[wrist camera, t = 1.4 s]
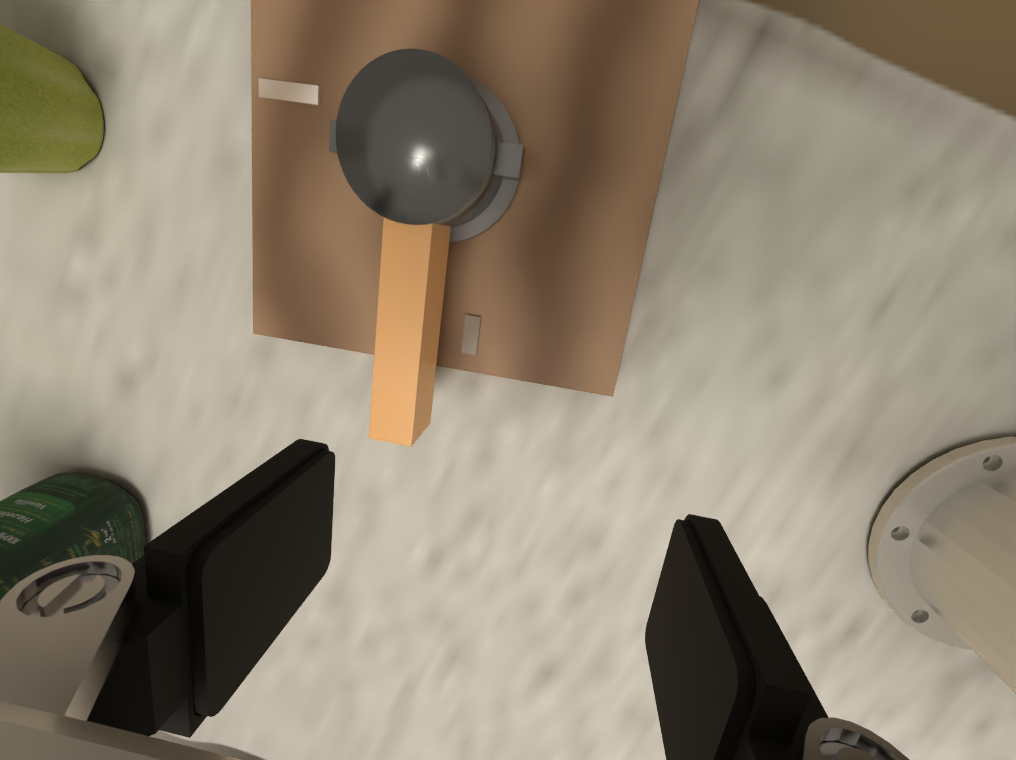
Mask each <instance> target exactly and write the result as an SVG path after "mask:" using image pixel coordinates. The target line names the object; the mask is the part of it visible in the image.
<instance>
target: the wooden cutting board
mask: <svg viewBox="0 0 1016 760" xmlns="http://www.w3.org/2000/svg"><path fill="white" fill-rule="evenodd" d="M698 3H699V0H251V64H252V215H253V333H254V334H259V335H265V336H271V337H276V338H282V339H288V340H293V341H299V342H305V343H311V344H316V345H322V346H328V347H333V348H339V349H345V350H350V351H356V352H362V353H368V354H373V355H375V340H376V325H377V310H378V295H379V280H380V265H381V250H382V235H383V221H384V217H383V216H381V215H379V214H377V213H376V212H374V211H373V210H372V209H370V208H369V207H368V206H367V205H366V204H364V203H363V202H362V201H361V200H360V198H359V197H358V196H357V195H356V194H355V193H354V191H353V190H352V188H351V187H350V185H349V183H348V181H347V179H346V178H345V176H344V173H343V171H342V168H341V165H340V162H339V158H338V155H337V154H334V153H332V152H329V137H330V120H336V119H337V114H338V110H339V106H340V103H341V100H342V97H343V95H344V93H345V91H346V89H347V87H348V86H349V84H350V83H351V81H352V80H353V78H354V77H355V76H356V75H357V73H358V72H359V71H360V70H361V69H362V68H363V67H364V66H366V65H367V64H368V63H369V62H371V61H372V60H374V59H375V58H377V57H379V56H381V55H383V54H385V53H388V52H391V51H395V50H400V49H408V48H409V49H422V50H427V51H431V52H434V53H436V54H439V55H441V56H443V57H445V58H447V59H449V60H450V61H452V62H453V63H454V64H456V65H457V66H458V67H460V68H461V69H462V70H463V71H464V72H465V73H466V74H467V76H468V77H469V78H470V79H471V81H472V82H473V83H474V85H475V86H476V88H477V90H478V91H479V93H480V95H481V96H482V98H483V100H484V101H485V103H486V105H487V106H488V108H489V110H490V111H491V113H492V115H493V116H494V118H495V120H496V121H497V123H498V126H499V128H500V130H501V133H502V137H503V140H504V143H510V144H517V145H523V146H524V148H525V150H526V151H525V158H524V166H523V173H522V180H521V181H516V180H509V179H502V182H501V185H500V188H499V190H498V192H497V194H496V196H495V198H494V199H493V201H492V202H491V204H490V205H489V206H488V207H487V208H486V210H484V211H483V212H482V213H481V214H480V215H479V216H478V217H476V218H475V219H473V220H472V221H470V222H468V223H466V224H463V225H461V226H458V227H453V228H451V230H450V239H449V249H448V258H447V268H446V277H445V287H444V296H443V306H442V315H441V325H440V334H439V344H438V353H437V363H436V366H442V367H447V368H453V369H459V370H465V371H470V372H476V373H482V374H487V375H493V376H499V377H504V378H510V379H516V380H522V381H527V382H533V383H539V384H544V385H550V386H556V387H561V388H567V389H573V390H579V391H584V392H590V393H596V394H601V395H607V396H613V394H614V390H615V385H616V380H617V376H618V371H619V367H620V362H621V357H622V353H623V348H624V344H625V339H626V334H627V330H628V325H629V321H630V316H631V311H632V307H633V302H634V298H635V293H636V288H637V284H638V279H639V275H640V270H641V265H642V261H643V256H644V252H645V247H646V242H647V238H648V233H649V229H650V224H651V219H652V215H653V210H654V205H655V201H656V196H657V192H658V187H659V182H660V178H661V173H662V169H663V164H664V159H665V155H666V150H667V146H668V141H669V136H670V132H671V127H672V123H673V118H674V113H675V109H676V104H677V100H678V95H679V90H680V86H681V81H682V77H683V72H684V67H685V63H686V58H687V54H688V49H689V44H690V40H691V35H692V31H693V26H694V21H695V17H696V12H697V7H698Z"/></svg>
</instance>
